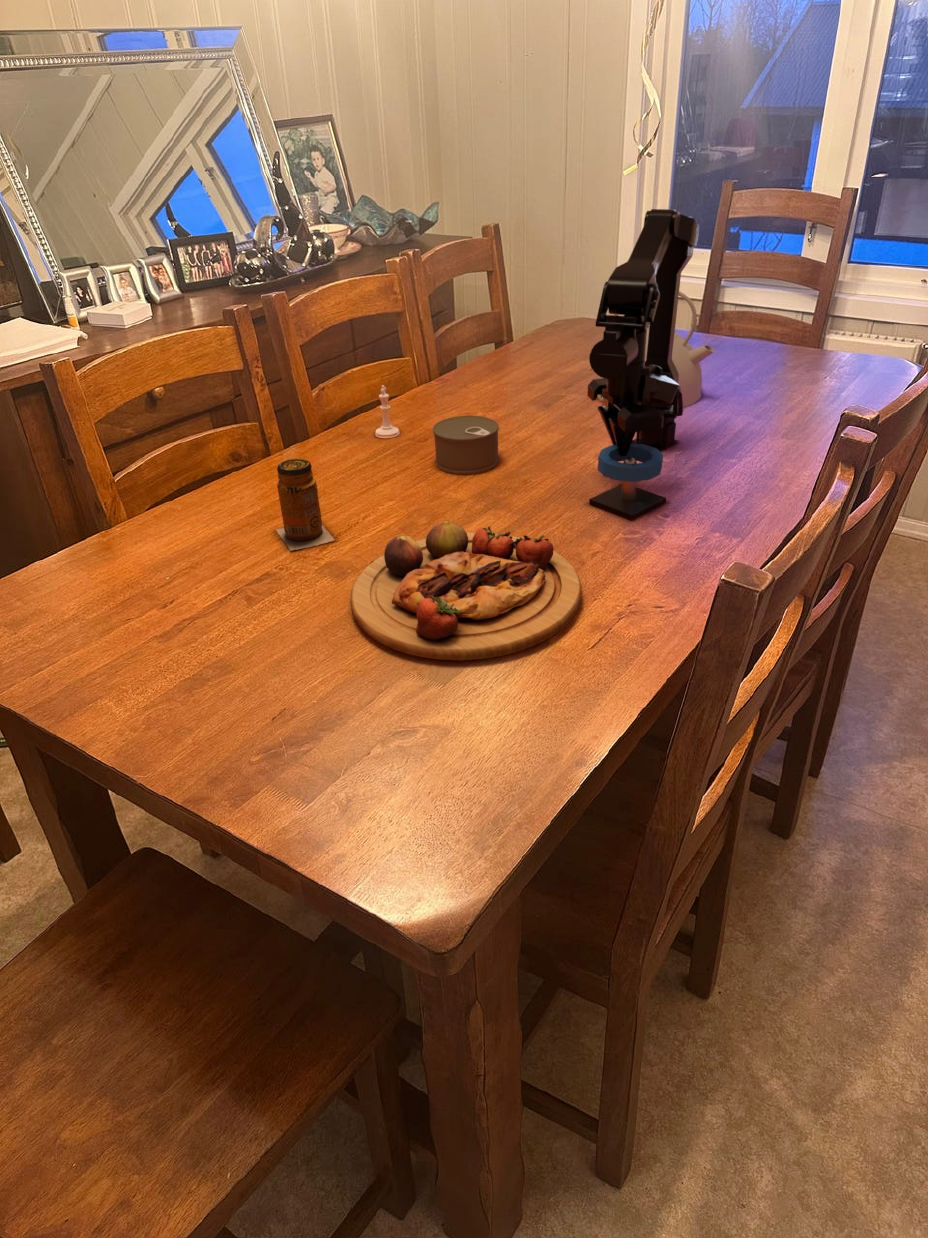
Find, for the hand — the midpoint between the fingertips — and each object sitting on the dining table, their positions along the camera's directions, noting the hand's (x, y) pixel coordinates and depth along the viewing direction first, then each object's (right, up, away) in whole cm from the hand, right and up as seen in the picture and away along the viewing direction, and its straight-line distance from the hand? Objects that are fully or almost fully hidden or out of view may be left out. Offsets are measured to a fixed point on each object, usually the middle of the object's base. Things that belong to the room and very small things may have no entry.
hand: (620, 453), depth 144 cm
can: (-25, +2, +18) cm, 31 cm away
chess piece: (-42, +10, +32) cm, 54 cm away
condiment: (-52, -14, -4) cm, 54 cm away
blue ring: (+1, -3, -3) cm, 4 cm away
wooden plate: (-26, -25, -23) cm, 42 cm away
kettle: (+15, +22, +46) cm, 53 cm away
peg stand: (+1, -8, 0) cm, 8 cm away
